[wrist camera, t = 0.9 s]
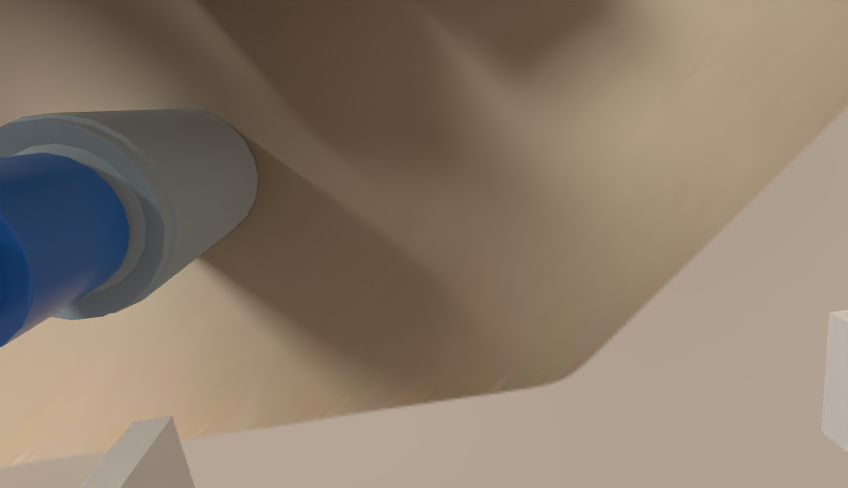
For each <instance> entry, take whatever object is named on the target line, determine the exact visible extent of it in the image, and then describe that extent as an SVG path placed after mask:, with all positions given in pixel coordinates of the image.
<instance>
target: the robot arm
mask: <svg viewBox="0 0 848 488" xmlns="http://www.w3.org/2000/svg"><path fill="white" fill-rule="evenodd" d="M821 432H822V433H824V434H825V435H826V436H827V437H829V438H830V439H831V440H832V441H834V442H835V443H836V444H838V445H839V446H840V447H841V448H843V449H844V450H845V451H847V452H848V310H844V311H837V312H831V313H829V329H828V341H827V357H826V371H825V386H824V401H823V416H822V430H821ZM79 488H195V487H194V484H193V481H192V478H191V474H190V471H189V468H188V465H187V462H186V459H185V455H184V452H183V449H182V446H181V443H180V440H179V436H178V433H177V430H176V427H175V424H174V421H173V418H172V416H169V417H163V418H157V419H150V420H144V421H137V422H133V423H132V424H131V425H130V427H129V428H128V429H127V430H126V431H125V433H124V434H123V435H122V436H121V437H120V439H119V440H118V441H117V442H116V444H115V445H114V446H113V447H112V448H111V450H110V451H109V452H108V453H107V454H106V456H105V457H104V458H103V459H102V461H101V462H100V463H99V464H98V465H97V466H96V468H95V469H94V470H93V471H92V472H91V474H90V475H89V476H88V477H87V478H86V480H85V481H84V482H83V483H82V485H81V486H80V487H79Z"/></svg>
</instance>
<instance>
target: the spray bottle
mask: <svg viewBox="0 0 848 488" xmlns="http://www.w3.org/2000/svg"><path fill="white" fill-rule="evenodd" d="M257 187H258V174H257V169H256V164H255V159H254V157H253V155H252V153H251V151H250V149H249V147H248V146H247V144H246V142H245V140H244V139H243V138H242V137H241V136H240V135H239V134H238V133H237V132H236V131H235V130H234V129H233V128H232V127H231V126H230V125H229V124H228V123H226V122H224V121H222V120H221V119H219V118H217V117H215V116H213V115H211V114H210V113H206V112H201V111H196V110H191V109H164V110H133V111H102V112H72V113H53V114H44V115H35V116H26V117H21V118H19V119H17V120H15V121H13V122H11V123H8V124H6V125H4V126H2V127H0V347H2V346H4V345H5V344H7V343H9V342H10V341H12V340H13V339H15V338H17V337H18V336H20V335H22V334H23V333H25V332H26V331H28V330H30V329H31V328H33V327H34V326H36V325H38V324H39V323H41V322H42V321H44V320H46V319H47V318H49V317H56V318H62V319H69V320H77V319H85V318H93V317H102V316H105V315H107V314H109V313H116V312H118V311H120V310H122V309H125V308H127V307H129V306H131V305H133V304H136V303H138V302H140V301H142V300H144V299H145V298H146V297H147V296H149V295H150V294H151V293H152V292H154V291H155V290H156V289H158V288H159V287H160V286H161V285H163V284H164V283H165V282H167V281H168V280H169V279H170V278H172V277H173V276H174V275H176V274H177V273H178V272H179V271H181V270H182V269H183V268H184V267H186V266H187V265H188V264H190V263H191V262H192V261H193V260H195V259H196V258H197V257H199V256H200V255H201V254H202V253H204V252H205V251H206V250H207V249H209V248H210V247H211V246H213V245H214V244H215V243H216V242H218V241H219V240H220V239H222V238H223V237H224V236H225V235H227V234H228V233H229V232H230V231H232V230H233V229H234V228H235V227H236V226H237V225H238V224H239V223H240V222H241V221H243V220H244V219H245V218H246V217H247V216H248V214H249V212H250V210H251V208H252V206H253V204H254V202H255V200H256V194H257Z"/></svg>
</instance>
